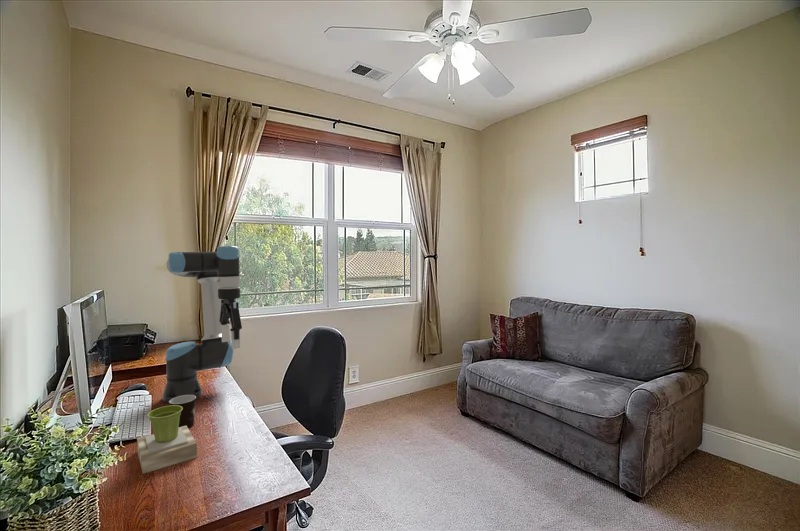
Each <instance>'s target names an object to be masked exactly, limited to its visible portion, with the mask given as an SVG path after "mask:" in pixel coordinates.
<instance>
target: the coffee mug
mask: <svg viewBox="0 0 800 531" xmlns="http://www.w3.org/2000/svg"><path fill="white" fill-rule="evenodd" d="M196 402H197V398H196V396H194V395H183V396H178V397H175V398H173V399H171V400H170V401H169V403H168V404H169V405H168V406H170V405H179V406H182V407H183V409H182V411H181V415H180V419H179V427H183V426H186V425H187V427H188V429H191V428H192V427H193V426H194V425H195V424H194V423H195V415H196V414H195V413H196Z"/></svg>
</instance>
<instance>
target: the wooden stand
mask: <svg viewBox="0 0 800 531" xmlns="http://www.w3.org/2000/svg"><path fill="white" fill-rule="evenodd" d="M189 429H190V428H188V427H187V425H186V426H183V427H179V429H178V436H177V437H176V438H175V439H173V440H170V441H168V442H164V441H162V442H156V441H155V437H154V433H153V434H152V433H151V434H148V435H145V436H140V437H137V438H136V445H137V446H136V447H137V456H138V460H139V464H140V467H141V468H140V469H141V473H142V474H147V473H151V472H154V471H157V470H161V469H163V468H167V467H170V466H174V465H176V464H180V463H183V462H186V461H187V462H188V461H190V460H192V459H196V458H198V450H197V449H198V446H197V445H198V444H197V442H196V440H195V438H194V436H193V435H192V433H191V430H189Z"/></svg>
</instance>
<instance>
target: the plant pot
mask: <svg viewBox="0 0 800 531" xmlns="http://www.w3.org/2000/svg"><path fill="white" fill-rule="evenodd" d="M182 409H183V407H182V406H179V405H164V406H161V407H158V408H155V409H153V410H151V411H149V412H148V413H147V417H148V419H149V421H150V422H151V427H152V431H153V434H154V437H155V441H156V442H162V441H164V442H168V441H170V440H173V439H175V438H176V437H177V436H178V429H179V419H180V415H181V411H182Z"/></svg>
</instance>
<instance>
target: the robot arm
mask: <svg viewBox="0 0 800 531" xmlns="http://www.w3.org/2000/svg"><path fill="white" fill-rule="evenodd" d="M239 249H240V248H239V247H238V246H236V245H231V246H230V245H223V246H222V245H219V246H218V247H217V248H216V251H175V252H174V251H173V252H170V253H169V254H168V259H167V262H166V267H167V270H168V271H169V273H170V274H173V275H175V276H178V277H183V278H196V279H197V280H196V281H197V282H198V283H199V284H200V286H201V299H202V300H201V301H202V302H201V304H202V305H201V306H202V315H203V316H202V318H203V334H204V335H203V337H202V338H201V339H200V344H199V343H196V341H191V340H190V341H185V342H180V343H179V342H178V343H176V344H173V345H171V346H169V347H168V348H167V349H166V351H165V361H166V362H165V363H166V366H165V367H166V382H165V383H166V384H165V386H164V389H163V392H162V402H163V403H166V404H169V401H170V400H171V399H173V398H175V397H178V396H183V395H194V396H196V399H198V398H200V397H201V396H202V395H203V388H202V385H201V383H200V381H199V378H198V372H200V371H208V370H213V369H221V368H223V367H229V366H230V365H231V364H232V361H233V359H234V358H233V357H234V350H235V349H241V331H240V330H242V329H243V326H242V321H241V315H240V308H239V302H238V301H236V299H239V298H240V297H241V289H240V288H239V287H240V286H241V276H240V250H239ZM230 326H231V328H230ZM230 332H231V334H230ZM230 335H231V336H230ZM230 337H231V338H230Z"/></svg>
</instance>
